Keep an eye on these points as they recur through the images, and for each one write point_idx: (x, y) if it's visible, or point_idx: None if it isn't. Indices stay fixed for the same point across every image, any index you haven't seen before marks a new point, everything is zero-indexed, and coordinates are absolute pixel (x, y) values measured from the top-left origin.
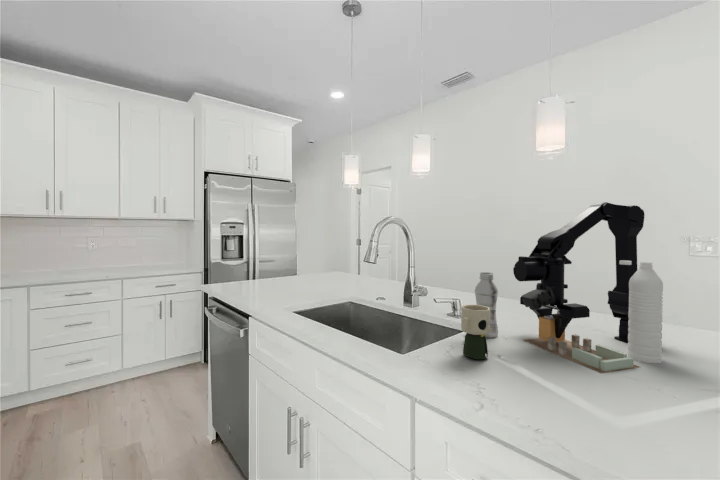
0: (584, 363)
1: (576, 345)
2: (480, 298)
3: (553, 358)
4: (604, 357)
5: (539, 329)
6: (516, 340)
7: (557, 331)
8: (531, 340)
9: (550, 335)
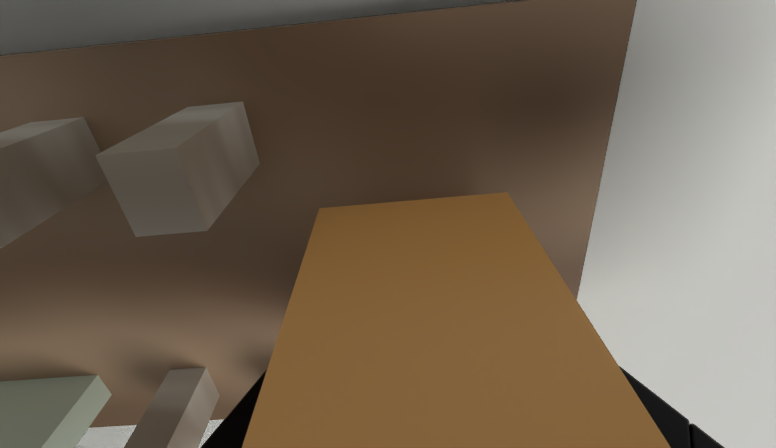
0: None
1: None
2: None
3: (86, 29)
4: (27, 383)
5: (535, 261)
6: (749, 16)
7: (259, 382)
8: (560, 112)
9: (302, 262)
